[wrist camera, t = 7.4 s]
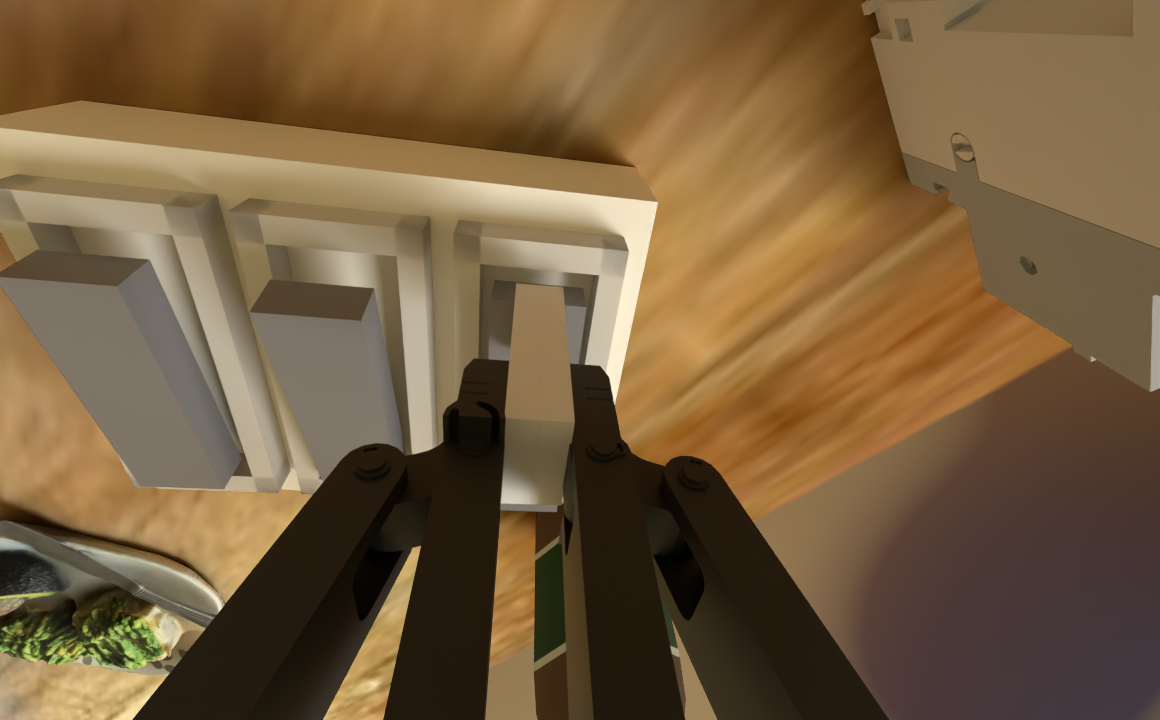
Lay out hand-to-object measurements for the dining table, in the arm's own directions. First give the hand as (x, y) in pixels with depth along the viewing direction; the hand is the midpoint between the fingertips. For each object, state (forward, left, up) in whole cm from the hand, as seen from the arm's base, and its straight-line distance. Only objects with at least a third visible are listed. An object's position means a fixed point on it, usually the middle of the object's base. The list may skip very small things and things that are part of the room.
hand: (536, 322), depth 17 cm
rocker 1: (+5, -14, -2) cm, 15 cm away
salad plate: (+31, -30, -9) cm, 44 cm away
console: (+5, -7, -8) cm, 12 cm away
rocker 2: (+5, -7, -2) cm, 8 cm away
